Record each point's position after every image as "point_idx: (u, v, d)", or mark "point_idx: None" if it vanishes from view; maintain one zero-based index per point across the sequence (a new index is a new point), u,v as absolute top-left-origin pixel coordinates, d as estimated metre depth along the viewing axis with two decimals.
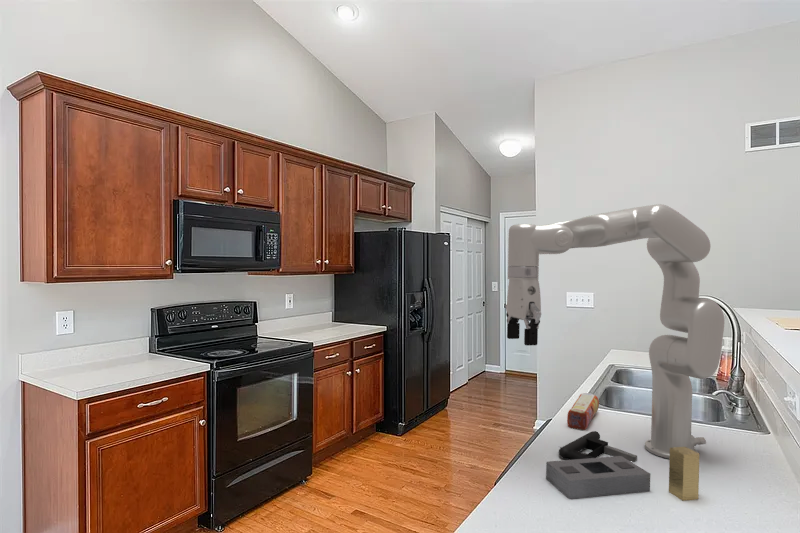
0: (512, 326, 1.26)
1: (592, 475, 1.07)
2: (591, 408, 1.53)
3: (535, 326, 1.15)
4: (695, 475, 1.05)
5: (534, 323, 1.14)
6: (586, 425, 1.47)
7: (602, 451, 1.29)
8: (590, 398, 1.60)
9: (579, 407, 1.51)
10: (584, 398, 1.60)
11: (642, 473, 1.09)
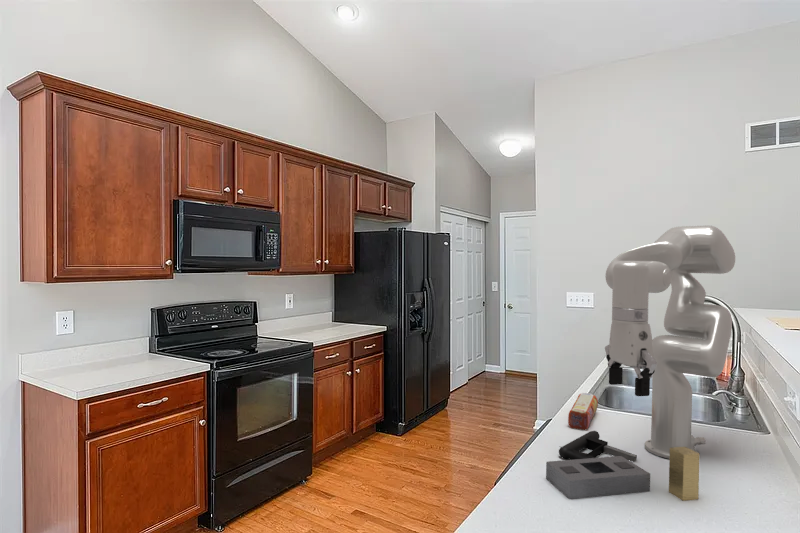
0: (615, 371, 1.16)
1: (592, 475, 1.07)
2: (591, 408, 1.53)
3: (648, 376, 1.05)
4: (695, 475, 1.05)
5: (648, 373, 1.04)
6: (587, 425, 1.47)
7: (602, 451, 1.30)
8: (589, 398, 1.60)
9: (580, 407, 1.51)
10: (584, 398, 1.60)
11: (642, 473, 1.09)
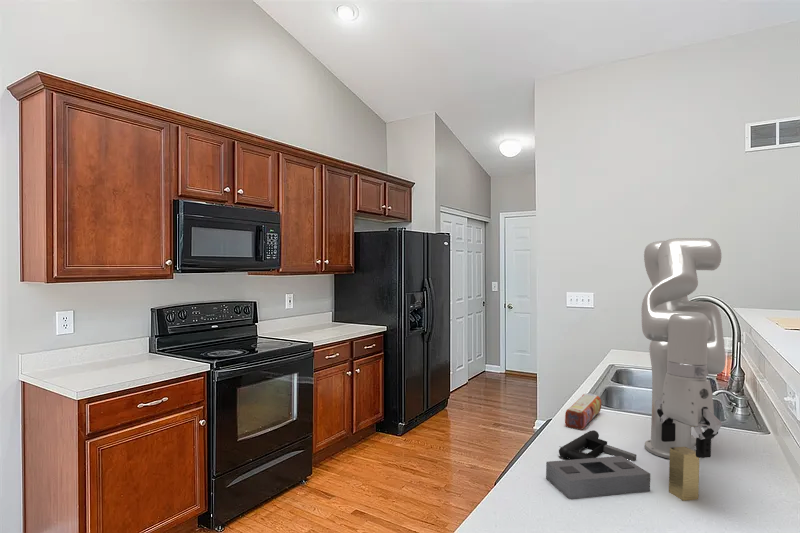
0: (668, 427, 1.10)
1: (592, 475, 1.07)
2: (590, 408, 1.53)
3: (711, 437, 1.00)
4: (695, 475, 1.05)
5: (711, 434, 0.99)
6: (583, 425, 1.47)
7: (601, 450, 1.30)
8: (591, 398, 1.60)
9: (577, 407, 1.51)
10: (585, 398, 1.60)
11: (642, 473, 1.09)
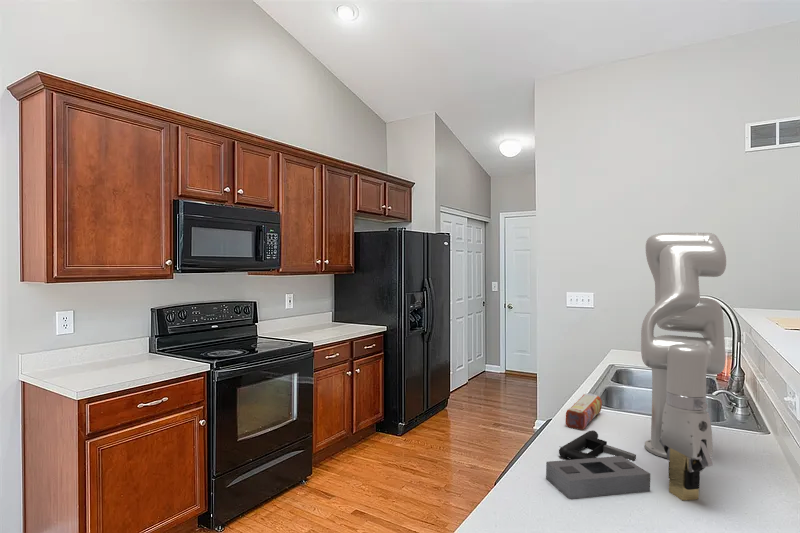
0: None
1: (592, 475, 1.07)
2: (591, 408, 1.53)
3: (700, 470, 1.03)
4: None
5: (700, 468, 1.02)
6: (584, 425, 1.47)
7: (601, 450, 1.30)
8: (591, 399, 1.60)
9: (578, 407, 1.51)
10: (586, 398, 1.60)
11: (642, 473, 1.09)
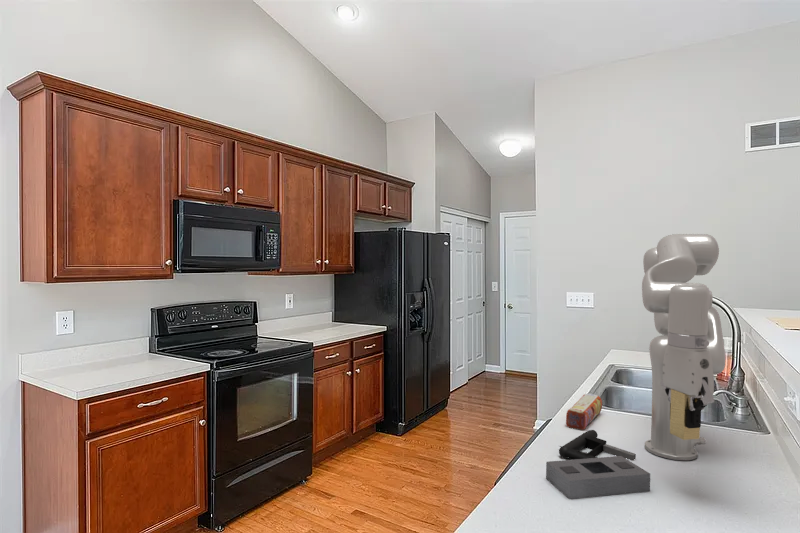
0: None
1: (592, 475, 1.07)
2: (591, 408, 1.53)
3: (701, 408, 1.03)
4: None
5: (701, 405, 1.02)
6: (584, 425, 1.47)
7: (601, 450, 1.30)
8: (592, 399, 1.60)
9: (578, 407, 1.51)
10: (586, 398, 1.60)
11: (642, 473, 1.09)
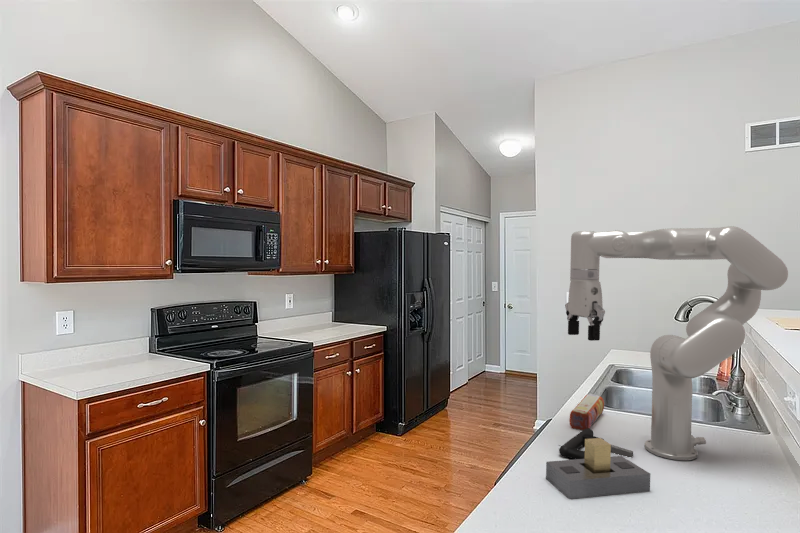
0: (573, 323, 1.39)
1: (592, 475, 1.07)
2: (594, 409, 1.52)
3: (598, 323, 1.28)
4: (606, 465, 1.10)
5: (598, 320, 1.27)
6: (588, 426, 1.46)
7: None
8: (594, 399, 1.59)
9: (582, 408, 1.50)
10: (588, 399, 1.59)
11: (642, 473, 1.09)
